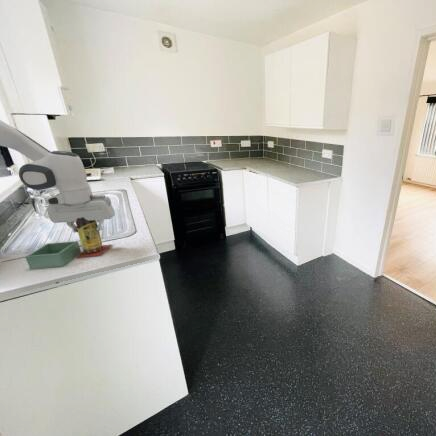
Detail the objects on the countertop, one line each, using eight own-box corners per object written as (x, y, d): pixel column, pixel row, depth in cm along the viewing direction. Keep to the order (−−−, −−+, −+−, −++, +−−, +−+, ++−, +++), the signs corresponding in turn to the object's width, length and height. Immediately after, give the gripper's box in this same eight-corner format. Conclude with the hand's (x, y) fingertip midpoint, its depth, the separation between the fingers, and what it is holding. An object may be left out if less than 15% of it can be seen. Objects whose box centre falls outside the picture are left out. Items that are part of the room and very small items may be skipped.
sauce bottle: (91, 255, 94) (75, 205, 87) (79, 252, 96) (63, 204, 89) (108, 247, 100) (94, 201, 93) (96, 245, 101) (83, 199, 95)
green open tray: (30, 269, 86) (24, 256, 84) (52, 255, 95) (47, 243, 94) (63, 266, 87) (59, 253, 86) (81, 252, 97) (77, 241, 96)
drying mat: (76, 258, 93) (76, 256, 93) (90, 247, 101) (89, 246, 101) (100, 255, 94) (99, 254, 94) (111, 245, 103) (111, 244, 103)
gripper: (112, 192, 95) (121, 225, 100) (52, 196, 91) (64, 230, 96) (104, 196, 89) (114, 231, 94) (39, 200, 85) (52, 236, 90)
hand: (88, 231), depth 95 cm, fingers closed on sauce bottle, 6 cm apart
